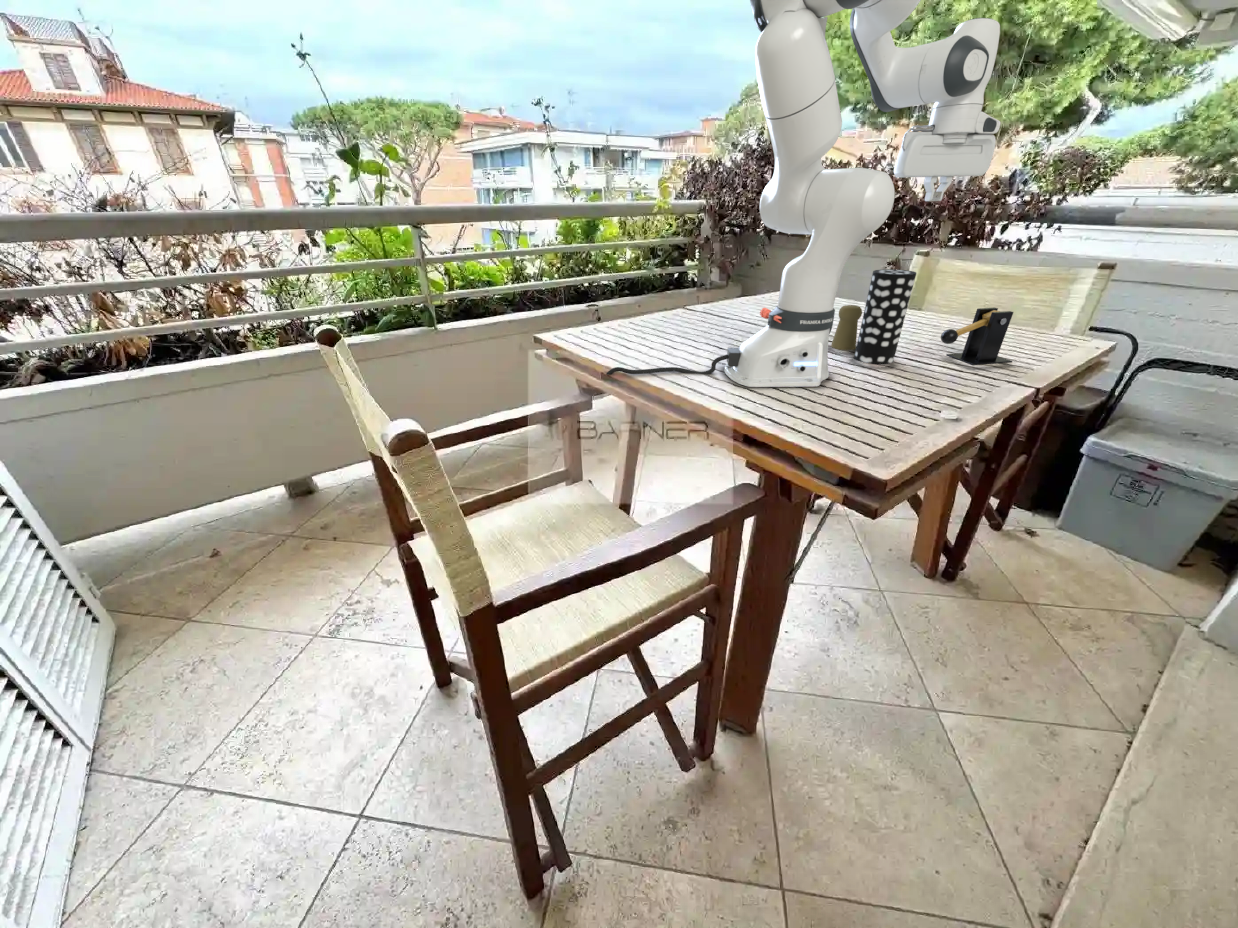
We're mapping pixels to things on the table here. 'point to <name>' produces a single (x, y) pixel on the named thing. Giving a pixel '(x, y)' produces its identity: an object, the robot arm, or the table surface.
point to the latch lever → (964, 329)
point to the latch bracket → (986, 339)
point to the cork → (847, 328)
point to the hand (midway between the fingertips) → (932, 201)
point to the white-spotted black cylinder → (884, 315)
